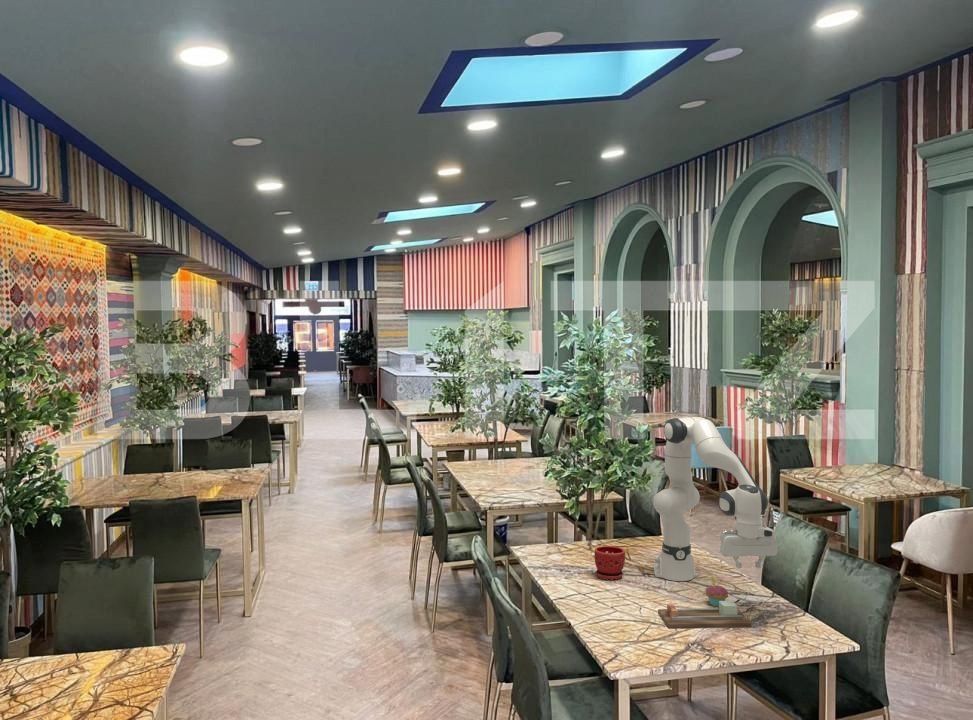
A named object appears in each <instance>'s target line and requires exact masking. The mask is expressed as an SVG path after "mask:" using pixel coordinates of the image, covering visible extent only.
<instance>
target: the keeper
mask: <svg viewBox="0 0 973 720" xmlns="http://www.w3.org/2000/svg"><path fill="white" fill-rule="evenodd" d="M718 608H719V614H720V615H721V616H726V615H737V608H738V604H736V603H735V602H734V601H733V600H725V601H719V607H718Z"/></svg>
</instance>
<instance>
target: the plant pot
mask: <svg viewBox="0 0 973 720" xmlns="http://www.w3.org/2000/svg"><path fill="white" fill-rule="evenodd" d="M593 553H594V564H595V566H596V569H597V570H595V575H596V576H598V577H599V578H600V579H603V580H607V579H611V580H612V581H613V579H615V580H618V579H621V578H622V577H623V575H624V572H623V569H624V566H625V561H626V550H625V549H623V548H622V547H619V546H612V545H603V546H597V547H595V548H594V552H593Z"/></svg>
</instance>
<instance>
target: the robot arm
mask: <svg viewBox="0 0 973 720" xmlns="http://www.w3.org/2000/svg"><path fill="white" fill-rule="evenodd" d="M663 434H664V437H665V439H666V442H665V450H664V451H665V452H664V473H665V475H666V476H668V478H669V482H670V487H668V488H664V489H662V490H660V491H659V492H657V493H656V494H655V495H654V496H653V500H652V504H653V507H654V508H653V509H654V510H655V511H656V512H657V513H658V514H659V516H660V518H661V522H662V528H663V531H662V532H663V542H662V546H661V550H662V551H661V552H659V554H658V555H657V557H654V562H655V563H653V564H652V568H654V569H653V574H654V577H656V578H661V579H665V580H668V581H674V582H675V581H676V582H687V581H690V580H693V579H694V578H696V577H699V573H698V572H697V571H696V566H695V565H696V564H695V557H694V556H693V555H692V546H691V543H690V542H691V533H690V532H691V531H690V530H691V527H690V525H689V524H688V523H687V522H686V520H685V515H684V512H686V511H689V510H691V509H694V508H695V506H696V505H698V504H699V502H700V498H701V497H700V492H699V490H698V489H697V487H695V484H694V481H693V476H692V457H693V456H692V454H693V453H692V452H693V451H692V447H693V444H694V447H695V451H696V453H697V456H698V457H699V458H700V460H701V461H702V462H703V463H704V464H705V465H707V466H709V467H712V468H717V469H721V470H723V471H726V472H728V473H730V474H731V475H732V476H734V478H735V479H736V481H737V483H738V484H739V485H738V486H737V487H736V488H734V489H730V490H725V491H722V492H721V493H720V495H719V498H718V507H719V510H720V511H721V512H722V513H723V514H724V515H725V516H728V517H735V518H736V519H735V529H734V530H731V529H730V530H728V529H727V530H724V531H722V532H721V533H720V535H719V538H720V546H719V552H720V554H721V555H722V556H723V557H732V559H733V561H734V562H735V567H736V569H742V568H743V566H742V565H743V564H742V562H740V561H739V559H740V558H739V557H758V560H757V561H755V562H754V564H755V568H757V569H759V568H760V569H761V568H762V563H763V561H764V560H765V557H768V556H769V557H771V556H772V557H774V556H776V555H777V554H778V543H777V541H778V540H777V539H776V537H775V536H776V532H775V530H773V529H772V528H770V527H768V526H765V525H763V524H762V519H761V516H762V515H763V514H764V513H765V512H766V511H767V509H768V506H769V498H768V496H767V495H766V492H764V490H763V489H762V488H761V487H760V486H759V485H758V483H757V482H756V481H755V479H754V478H753V475H752V474H751V472H750V471H749V469H748V468H747V467H746V465H745V463H744V462H743V460H742V459H741V458H740V456H739V455H737V454H736V453H735V452H733V451H732V450H731V449H730V448H729V447H728V446H727V444H726V443H725V441H724V440H723V438H722V435H721V433H720V432H719V430H718V428H717V426H716V424H715V422H714V420H713V419H711V418H710V417H706V416H701V417H700V416H687V417H673V418H670V419H667V420H666V421H665V424H664V426H663Z"/></svg>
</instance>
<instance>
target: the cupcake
mask: <svg viewBox="0 0 973 720" xmlns="http://www.w3.org/2000/svg"><path fill="white" fill-rule="evenodd" d="M711 581H712V585H709V586H708V587H707V588H705V591H704V592H705V595H706V597H708V601H709V603H710V605H711V606H713V607H715V608H719V601H726V599H727V598H728V597H729V591H728V590H727V589H726V588H725V587H723V586H722V585H721V586H720V585H715V578H714V575H713V574H711Z"/></svg>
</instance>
